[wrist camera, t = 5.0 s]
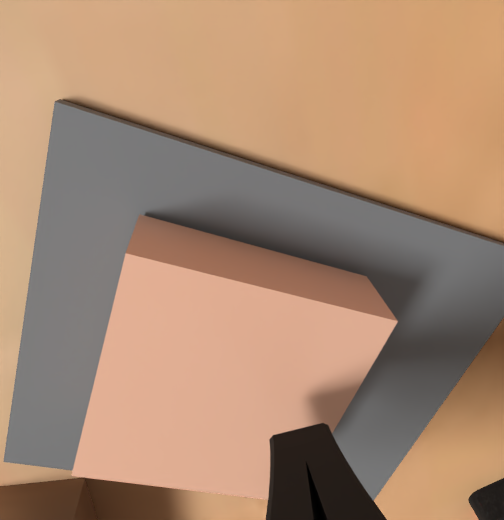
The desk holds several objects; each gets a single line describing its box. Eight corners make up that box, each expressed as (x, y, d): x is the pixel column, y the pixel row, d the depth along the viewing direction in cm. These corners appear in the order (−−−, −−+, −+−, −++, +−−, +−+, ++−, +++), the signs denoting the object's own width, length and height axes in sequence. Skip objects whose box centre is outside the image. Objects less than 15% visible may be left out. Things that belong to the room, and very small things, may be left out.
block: (398, 321, 10) (125, 253, 9) (291, 502, 13) (71, 475, 12) (364, 273, 12) (140, 212, 11) (279, 439, 15) (91, 409, 14)
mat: (535, 253, 13) (544, 259, 13) (365, 498, 18) (368, 507, 18) (59, 99, 10) (54, 101, 9) (8, 451, 15) (3, 461, 14)
